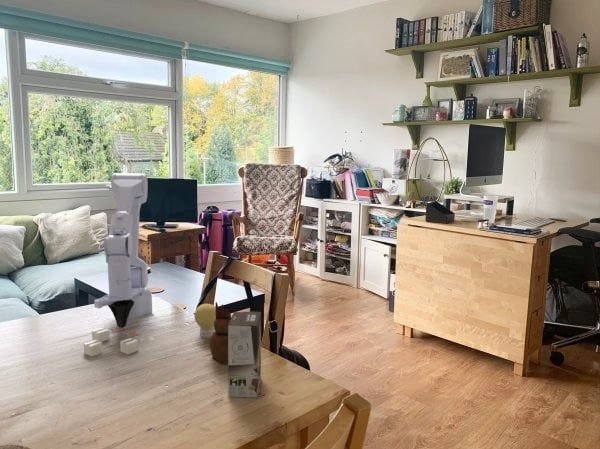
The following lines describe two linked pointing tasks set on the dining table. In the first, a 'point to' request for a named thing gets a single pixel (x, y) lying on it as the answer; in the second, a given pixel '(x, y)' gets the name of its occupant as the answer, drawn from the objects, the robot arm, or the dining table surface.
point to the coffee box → (244, 354)
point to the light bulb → (205, 319)
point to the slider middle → (93, 348)
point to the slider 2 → (129, 346)
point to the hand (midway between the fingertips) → (121, 326)
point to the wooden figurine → (220, 336)
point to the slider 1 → (100, 334)
